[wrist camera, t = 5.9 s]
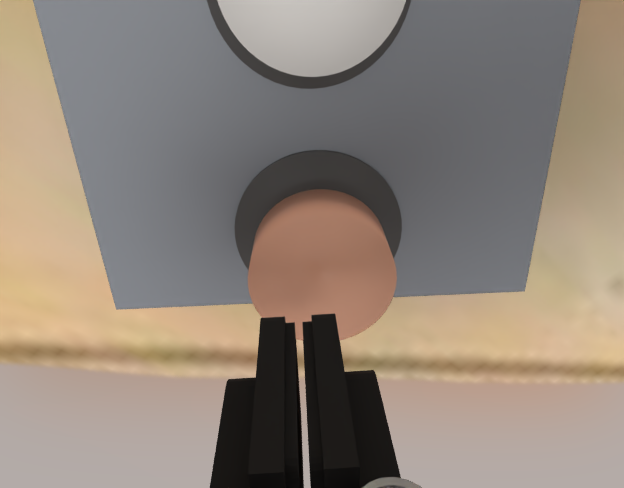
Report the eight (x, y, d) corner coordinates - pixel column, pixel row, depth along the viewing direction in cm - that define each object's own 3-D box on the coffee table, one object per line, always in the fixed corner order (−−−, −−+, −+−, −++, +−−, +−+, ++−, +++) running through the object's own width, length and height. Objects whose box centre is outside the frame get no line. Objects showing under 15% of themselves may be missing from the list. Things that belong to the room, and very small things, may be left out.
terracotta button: (388, 186, 15) (400, 210, 13) (383, 303, 17) (393, 339, 15) (247, 192, 15) (240, 218, 13) (259, 309, 17) (254, 345, 15)
